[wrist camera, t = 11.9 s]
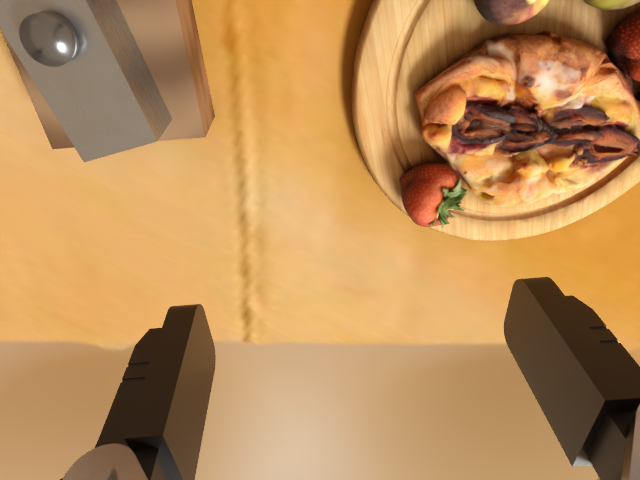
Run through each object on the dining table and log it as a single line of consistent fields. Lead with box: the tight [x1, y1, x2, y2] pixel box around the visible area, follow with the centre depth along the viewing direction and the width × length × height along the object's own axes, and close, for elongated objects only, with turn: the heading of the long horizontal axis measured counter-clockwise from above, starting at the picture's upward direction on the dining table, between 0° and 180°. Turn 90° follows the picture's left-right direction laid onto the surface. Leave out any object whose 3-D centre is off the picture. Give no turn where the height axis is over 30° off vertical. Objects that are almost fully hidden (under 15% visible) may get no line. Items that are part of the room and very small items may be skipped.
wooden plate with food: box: [351, 0, 640, 241], centre depth 35 cm, size 32×32×8 cm
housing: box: [0, 0, 172, 162], centre depth 29 cm, size 10×6×6 cm, turn 15°
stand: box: [2, 0, 215, 149], centre depth 33 cm, size 12×12×5 cm
